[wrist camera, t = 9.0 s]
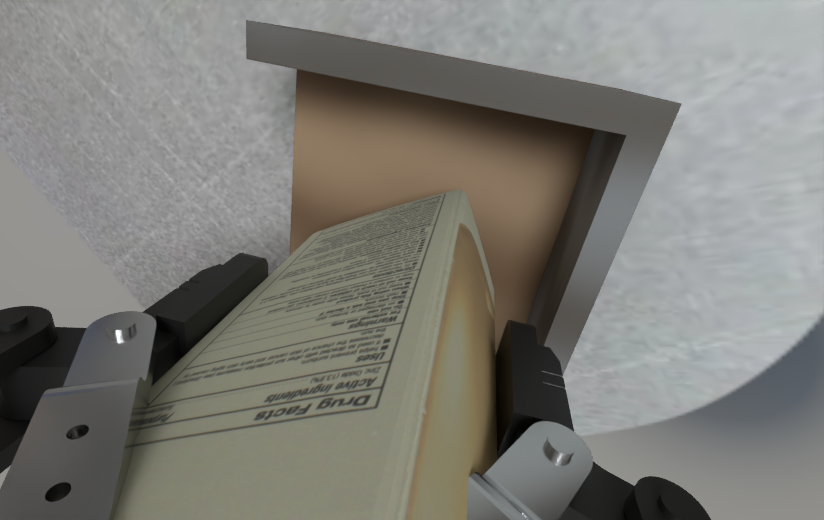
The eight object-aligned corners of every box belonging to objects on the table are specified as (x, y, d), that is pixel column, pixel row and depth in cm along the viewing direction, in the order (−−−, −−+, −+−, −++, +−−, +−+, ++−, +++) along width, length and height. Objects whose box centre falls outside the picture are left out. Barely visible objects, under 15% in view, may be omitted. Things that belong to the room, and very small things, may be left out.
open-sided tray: (324, 32, 17) (246, 20, 12) (621, 89, 16) (681, 103, 11) (306, 312, 24) (250, 386, 18) (518, 366, 22) (524, 462, 17)
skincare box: (353, 322, 18) (121, 736, 7) (311, 229, 16) (-74, 571, 5) (505, 291, 16) (518, 801, 5) (473, 181, 14) (389, 568, 3)
